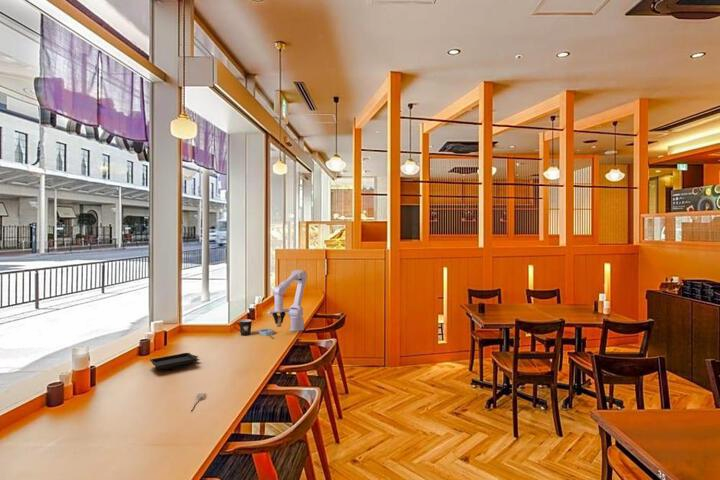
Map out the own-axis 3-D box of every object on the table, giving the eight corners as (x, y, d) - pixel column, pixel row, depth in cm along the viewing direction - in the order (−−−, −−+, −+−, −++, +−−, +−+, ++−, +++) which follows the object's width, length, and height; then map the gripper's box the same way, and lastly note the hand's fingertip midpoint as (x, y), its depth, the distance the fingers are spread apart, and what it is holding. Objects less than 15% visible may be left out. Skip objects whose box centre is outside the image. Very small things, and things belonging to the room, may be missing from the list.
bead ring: (271, 331, 304) (271, 328, 304) (275, 334, 295) (275, 331, 295) (257, 333, 299) (257, 329, 299) (261, 336, 290) (261, 332, 290)
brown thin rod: (268, 335, 292) (268, 334, 292) (269, 335, 292) (269, 334, 292) (272, 339, 283) (272, 337, 283) (274, 338, 283) (274, 337, 283)
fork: (184, 419, 170) (183, 413, 169) (201, 393, 190) (201, 388, 190) (191, 419, 170) (190, 413, 169) (207, 393, 190) (207, 388, 190)
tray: (171, 357, 243) (170, 348, 243) (209, 358, 241) (209, 349, 241) (139, 375, 213) (138, 365, 213) (182, 377, 211) (182, 366, 211)
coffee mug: (253, 333, 298) (253, 319, 297) (249, 336, 289) (249, 322, 289) (237, 332, 299) (237, 319, 299) (233, 336, 290) (233, 321, 290)
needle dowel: (280, 325, 294) (280, 315, 294) (281, 326, 291) (281, 316, 291) (275, 326, 292) (275, 316, 292) (277, 327, 290) (277, 317, 289)
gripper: (286, 302, 299) (286, 321, 299) (266, 304, 291) (266, 323, 291) (290, 303, 293) (290, 323, 293) (270, 305, 285) (270, 325, 285)
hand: (278, 323), depth 292 cm, fingers closed on needle dowel, 3 cm apart
